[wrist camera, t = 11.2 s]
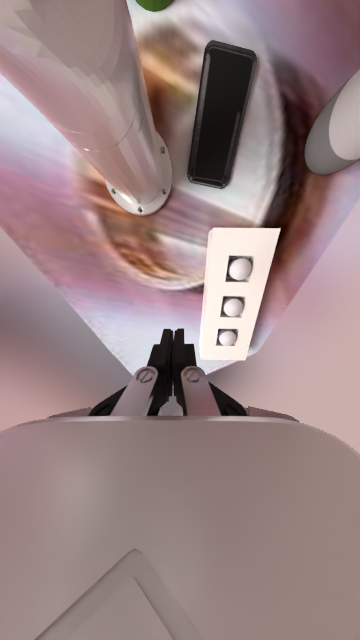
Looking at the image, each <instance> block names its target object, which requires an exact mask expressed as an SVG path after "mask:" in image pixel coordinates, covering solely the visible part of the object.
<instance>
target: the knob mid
mask: <svg viewBox="0 0 360 640" xmlns="http://www.w3.org/2000/svg"><path fill="white" fill-rule="evenodd" d="M221 308H222V309H223V310H224V312H225V313H226V314H227V315H228V316H231V317H234V316H237V315H239V314H240V313H241V312H242V310H243V304H242V302H241V301H239V300H238V299H237V298H235V297H234V296H224V297H223V300H222V307H221Z"/></svg>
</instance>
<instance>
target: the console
mask: <svg viewBox="0 0 360 640" xmlns="http://www.w3.org/2000/svg"><path fill="white" fill-rule="evenodd" d="M280 229H281V228H213V229H212V230H211V231H210V232H209V236H208V248H207V260H206V271H205V283H204V295H203V307H202V318H201V330H200V342H199V351H200V357H201V359H210V360H246V356H247V352H248V349H249V345H250V341H251V337H252V334H253V330H254V326H255V322H256V319H257V315H258V311H259V308H260V304H261V300H262V296H263V293H264V289H265V285H266V281H267V278H268V274H269V270H270V266H271V263H272V259H273V255H274V251H275V248H276V244H277V240H278V236H279V233H280ZM231 259H247V260H248V261H249V262H250V263H251V272H250V274H249V275H248V277H246V278H245V279H243V280H236V279H233V278H231V277H228V276H227V275H226V273H227V266H228V261H229V260H231ZM224 296H234V297H235V298H237V299H238V300H239V301H241V302H242V304H243V310H242V312H241V313H240V314H239V315H237V316H234V317H231V316H228V315H227V314H226V313H225V312H224V310H223V309H222V308H221V307H222V300H223V297H224ZM218 329H232V331H233V332H234V334H235V335H236V341H235V343H234V344H232V345H230V346H224V345H222V344H221V343H220V341H219V338H218V336H217V335H218Z"/></svg>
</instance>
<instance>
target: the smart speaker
mask: <svg viewBox="0 0 360 640" xmlns="http://www.w3.org/2000/svg"><path fill="white" fill-rule="evenodd" d="M359 160H360V69H359V70H358V71H357V72H356V73H355V74H354V75H353V76H352V77H351V78H350V79H349V80H348V81H347V82H346V83H345V84H344V85H343V86H342V87H341V88H340V90H339V91H338V92H337V93H336V94H335V95H334V96H333V97H332V98H331V100H330V101H329V102H328V103H327V105H326V106H325V107H324V109H323V110H322V112H321V113H320V114H319V116H318V118H317V119H316V121H315V123H314V124H313V126H312V128H311V131H310V133H309V136H308V138H307V142H306V146H305V161H306V164H307V166H308V168H309V169H310V170H311V171H312V172H313V173H315V174H320V175H325V174H331V173H334V172H337V171H340V170H342V169H344V168H346V167H348V166H350V165H352V164H353V163H355V162H357V161H359Z"/></svg>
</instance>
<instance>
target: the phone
mask: <svg viewBox="0 0 360 640" xmlns="http://www.w3.org/2000/svg"><path fill="white" fill-rule="evenodd" d="M256 64H257V57H256V54H255V53H254V51H252V50H249V49H245V48H241V47H237V46H234V45H230V44H226V43H222V42H219V41H215V40H212V41H210V42H209V43H208V44H207V46H206V48H205V52H204V58H203V66H202V73H201V80H200V87H199V94H198V102H197V109H196V116H195V123H194V130H193V138H192V145H191V152H190V159H189V166H188V179H189V181H190V182H192V183H195V184H200V185H205V186H209V187H214V188H219V189H223V188H225V187H226V185H227V184H228V182H229V179H230V175H231V171H232V167H233V163H234V158H235V155H236V149H237V145H238V141H239V137H240V132H241V128H242V124H243V120H244V115H245V111H246V107H247V103H248V99H249V94H250V90H251V86H252V82H253V77H254V73H255V69H256Z"/></svg>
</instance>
